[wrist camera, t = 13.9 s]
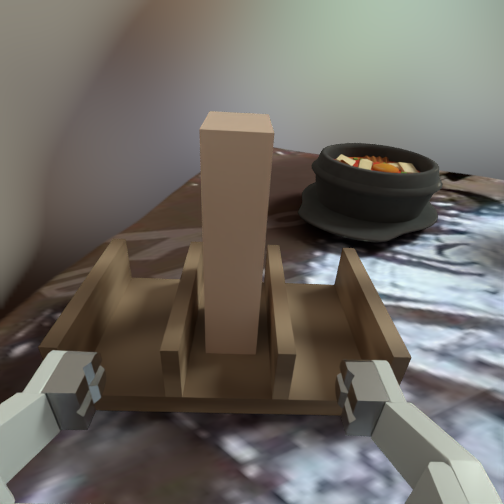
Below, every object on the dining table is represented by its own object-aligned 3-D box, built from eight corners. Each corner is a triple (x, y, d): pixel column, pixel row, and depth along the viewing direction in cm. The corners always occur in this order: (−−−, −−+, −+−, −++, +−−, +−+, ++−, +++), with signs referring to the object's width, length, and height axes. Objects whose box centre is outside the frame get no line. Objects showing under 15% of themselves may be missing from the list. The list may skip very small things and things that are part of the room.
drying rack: (390, 416, 22) (415, 357, 19) (58, 409, 21) (33, 347, 18) (344, 298, 32) (356, 248, 29) (120, 290, 31) (110, 238, 28)
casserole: (409, 276, 36) (435, 203, 32) (263, 224, 45) (268, 161, 40) (447, 205, 54) (467, 152, 50) (337, 178, 63) (346, 130, 58)
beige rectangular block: (255, 354, 24) (274, 133, 16) (205, 353, 24) (199, 129, 16) (254, 307, 28) (268, 114, 20) (212, 306, 28) (209, 111, 20)
